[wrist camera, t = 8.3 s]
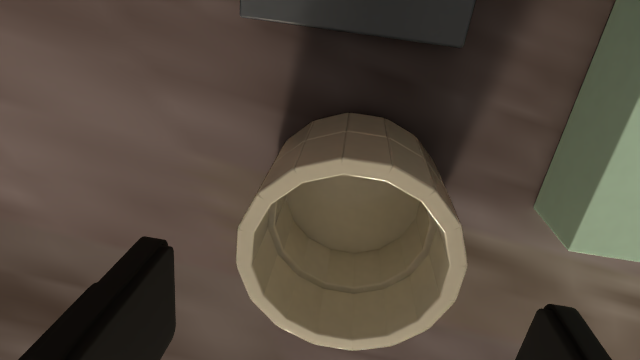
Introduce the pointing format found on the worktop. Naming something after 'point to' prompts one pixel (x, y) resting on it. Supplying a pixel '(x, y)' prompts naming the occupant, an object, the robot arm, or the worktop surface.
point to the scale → (601, 150)
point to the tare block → (373, 17)
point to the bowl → (352, 236)
